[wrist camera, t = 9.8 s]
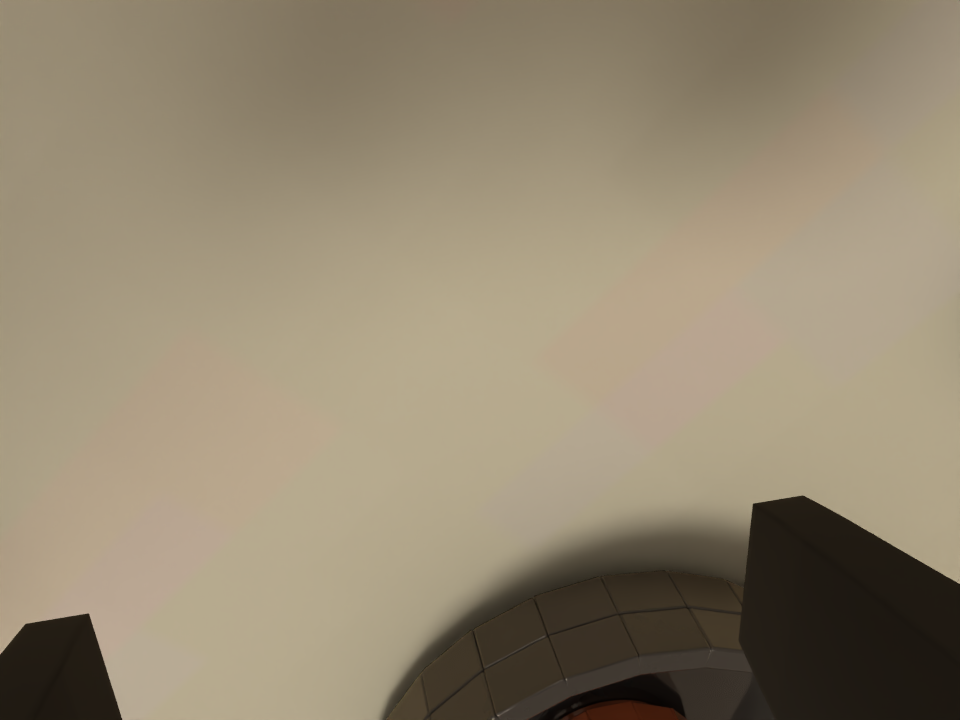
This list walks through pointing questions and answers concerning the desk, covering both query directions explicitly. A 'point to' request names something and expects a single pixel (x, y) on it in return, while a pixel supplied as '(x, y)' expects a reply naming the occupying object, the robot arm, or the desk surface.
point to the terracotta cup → (624, 711)
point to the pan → (599, 654)
